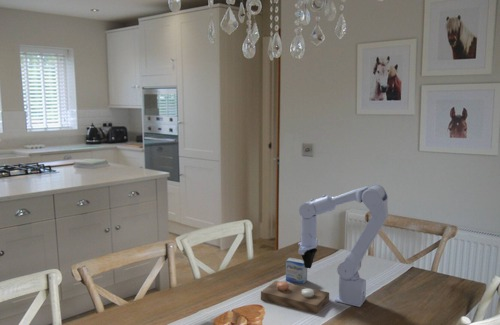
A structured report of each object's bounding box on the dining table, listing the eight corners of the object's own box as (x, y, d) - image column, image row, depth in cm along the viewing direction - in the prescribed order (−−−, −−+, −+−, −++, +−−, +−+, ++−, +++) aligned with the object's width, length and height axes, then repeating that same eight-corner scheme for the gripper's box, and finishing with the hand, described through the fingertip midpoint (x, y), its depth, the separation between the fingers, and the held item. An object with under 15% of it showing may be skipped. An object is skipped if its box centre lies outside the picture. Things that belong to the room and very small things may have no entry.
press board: (329, 300, 160) (329, 292, 160) (317, 313, 150) (317, 305, 150) (275, 287, 171) (275, 280, 171) (260, 299, 161) (260, 291, 160)
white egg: (315, 300, 159) (315, 290, 158) (310, 305, 155) (311, 294, 154) (304, 298, 161) (304, 287, 160) (299, 302, 157) (299, 292, 157)
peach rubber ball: (290, 293, 164) (290, 282, 163) (285, 297, 160) (285, 287, 159) (279, 290, 166) (280, 280, 165) (274, 294, 162) (274, 284, 162)
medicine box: (285, 280, 178) (285, 260, 177) (289, 276, 182) (289, 256, 181) (303, 284, 175) (303, 263, 174) (307, 280, 179) (307, 260, 178)
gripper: (306, 227, 174) (305, 259, 176) (291, 236, 161) (290, 271, 163) (323, 229, 170) (322, 263, 172) (308, 239, 158) (308, 275, 160)
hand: (308, 267), depth 167 cm, fingers closed
